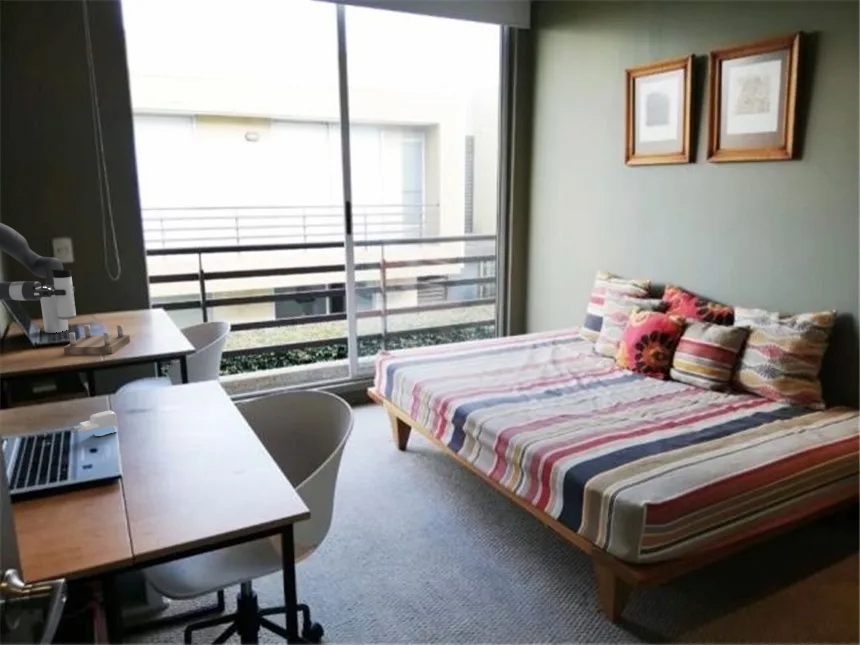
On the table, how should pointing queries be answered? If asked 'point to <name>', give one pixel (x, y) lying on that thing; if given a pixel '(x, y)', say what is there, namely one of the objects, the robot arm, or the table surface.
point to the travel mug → (67, 301)
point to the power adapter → (97, 422)
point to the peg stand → (96, 342)
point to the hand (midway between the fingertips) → (69, 291)
